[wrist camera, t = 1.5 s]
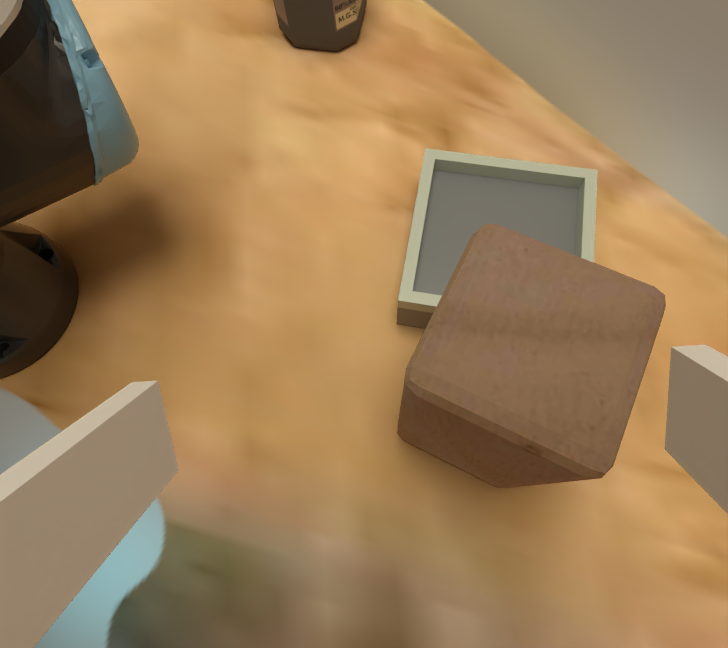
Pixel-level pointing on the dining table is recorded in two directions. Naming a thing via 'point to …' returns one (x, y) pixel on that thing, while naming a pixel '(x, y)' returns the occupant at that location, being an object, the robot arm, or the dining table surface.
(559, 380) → the wooden block
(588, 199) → the square tray
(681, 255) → the dining table surface
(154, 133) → the dining table surface
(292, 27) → the liquor
